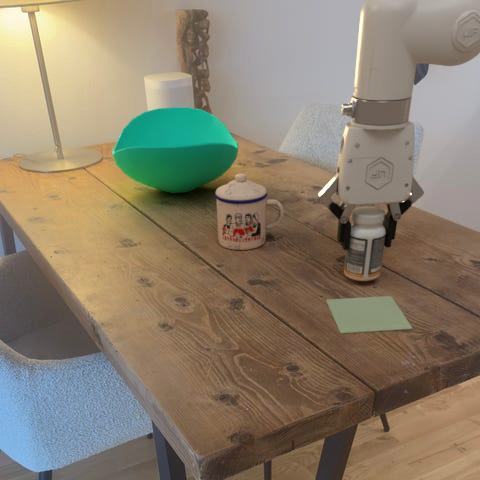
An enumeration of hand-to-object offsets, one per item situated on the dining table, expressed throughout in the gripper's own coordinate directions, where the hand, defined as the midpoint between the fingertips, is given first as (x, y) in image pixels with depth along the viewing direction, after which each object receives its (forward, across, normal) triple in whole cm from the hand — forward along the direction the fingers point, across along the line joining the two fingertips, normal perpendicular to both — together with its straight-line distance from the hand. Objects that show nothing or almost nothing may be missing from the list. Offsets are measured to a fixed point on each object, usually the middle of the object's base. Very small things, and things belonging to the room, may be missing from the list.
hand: (365, 244), depth 86 cm
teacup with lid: (+6, -16, +18) cm, 25 cm away
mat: (+6, -2, -11) cm, 13 cm away
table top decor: (+6, -29, +53) cm, 61 cm away
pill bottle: (+5, 0, 0) cm, 5 cm away
